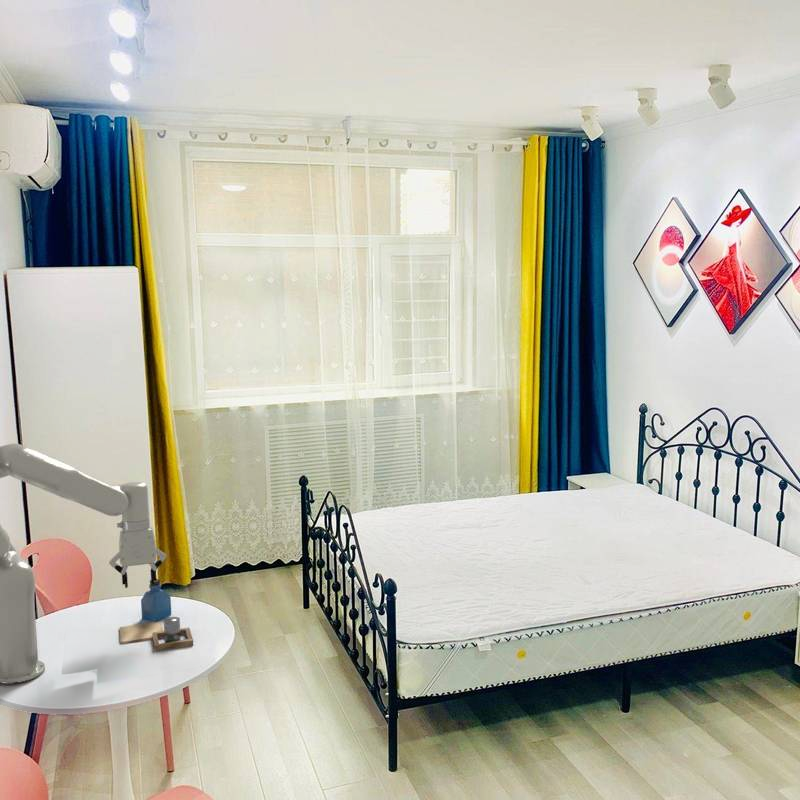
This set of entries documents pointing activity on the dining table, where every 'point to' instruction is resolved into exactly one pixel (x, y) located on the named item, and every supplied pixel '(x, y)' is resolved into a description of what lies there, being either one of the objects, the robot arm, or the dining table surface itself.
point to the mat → (139, 632)
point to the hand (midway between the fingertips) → (139, 584)
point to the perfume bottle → (155, 603)
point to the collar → (176, 643)
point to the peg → (172, 629)
